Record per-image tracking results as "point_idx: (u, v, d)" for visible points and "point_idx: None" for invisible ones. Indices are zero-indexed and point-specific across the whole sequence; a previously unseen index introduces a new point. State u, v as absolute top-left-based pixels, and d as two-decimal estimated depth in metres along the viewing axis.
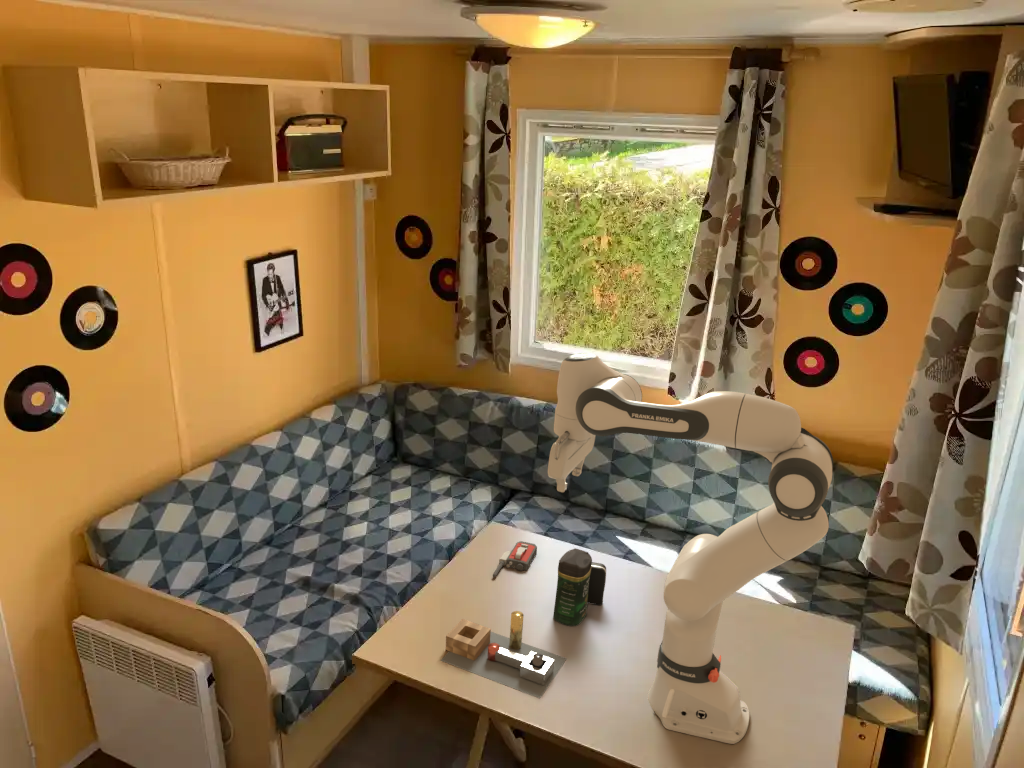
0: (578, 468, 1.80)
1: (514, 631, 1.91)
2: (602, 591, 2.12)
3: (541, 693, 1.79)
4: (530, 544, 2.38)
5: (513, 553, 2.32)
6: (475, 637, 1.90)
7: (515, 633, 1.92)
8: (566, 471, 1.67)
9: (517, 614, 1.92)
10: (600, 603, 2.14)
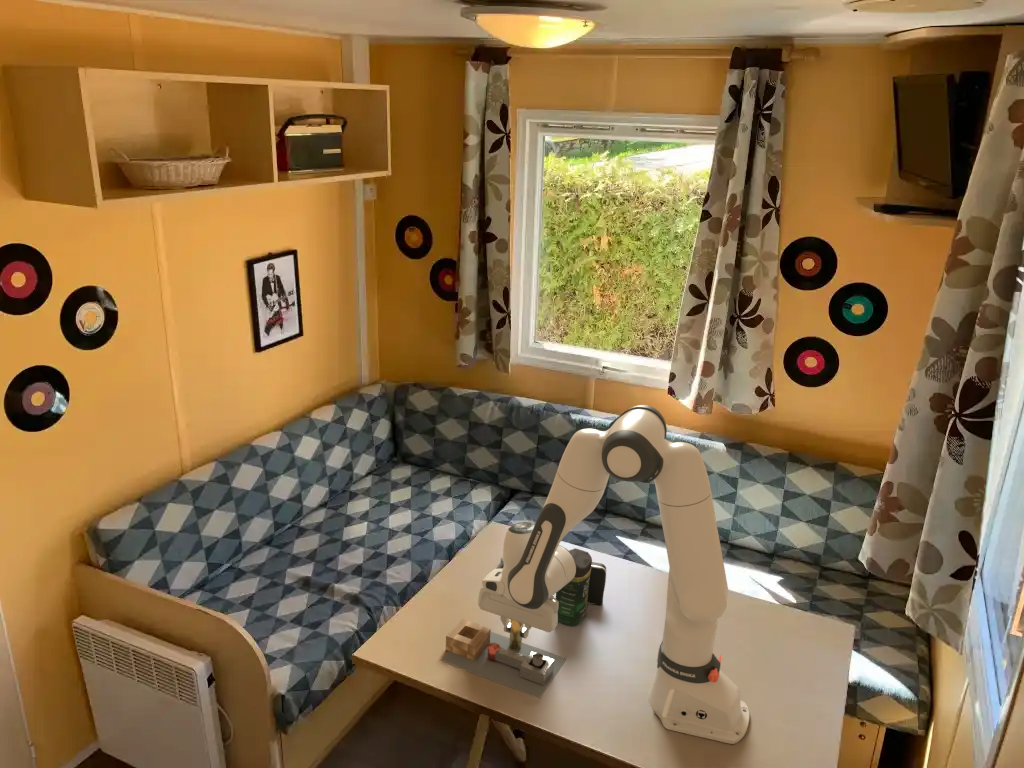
0: (510, 624, 1.94)
1: (514, 631, 1.91)
2: (602, 591, 2.12)
3: (541, 693, 1.79)
4: None
5: None
6: (475, 637, 1.90)
7: (515, 633, 1.92)
8: None
9: None
10: (600, 603, 2.14)
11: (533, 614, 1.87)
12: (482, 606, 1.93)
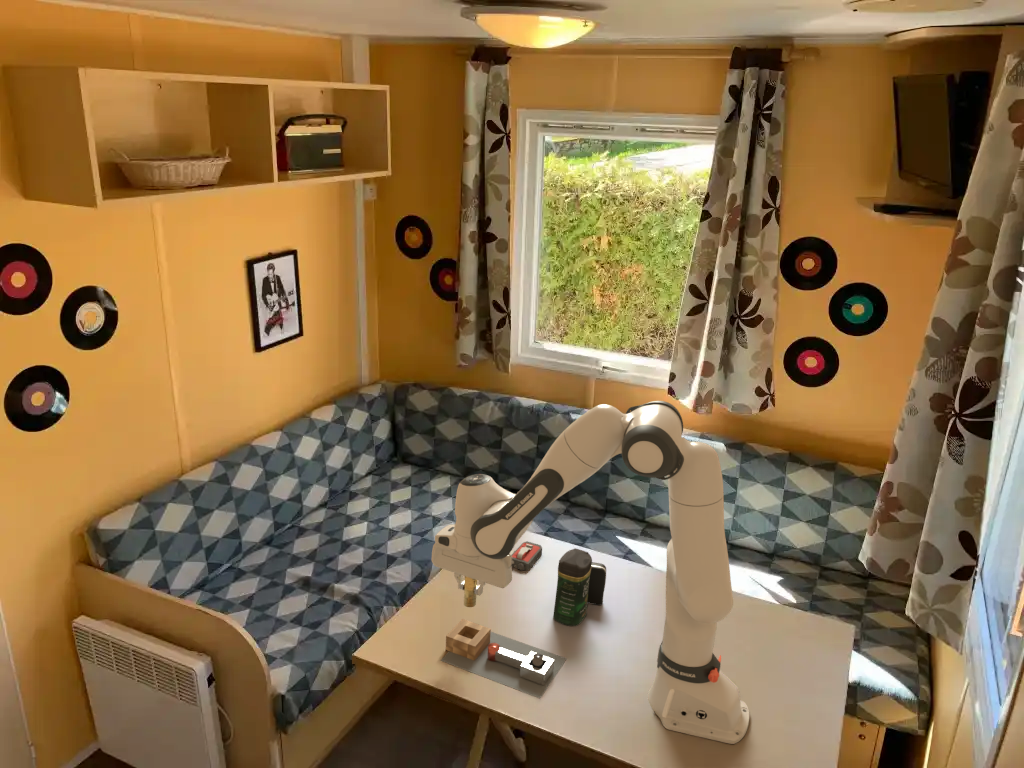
0: (464, 581, 1.89)
1: (468, 588, 1.86)
2: (602, 591, 2.12)
3: (541, 693, 1.79)
4: (535, 545, 2.37)
5: (516, 552, 2.32)
6: (475, 637, 1.90)
7: (469, 590, 1.87)
8: None
9: None
10: (600, 603, 2.14)
11: (486, 569, 1.82)
12: (435, 563, 1.88)
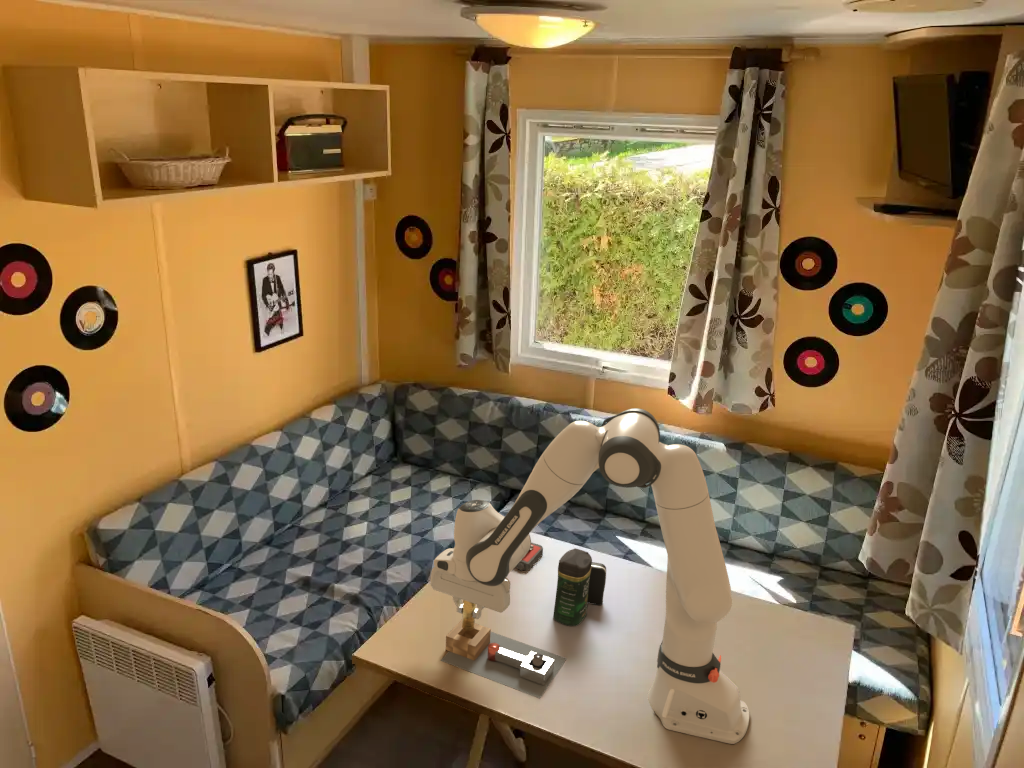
0: (462, 604, 1.91)
1: (466, 612, 1.88)
2: (602, 591, 2.12)
3: (541, 693, 1.79)
4: (536, 545, 2.37)
5: None
6: (475, 637, 1.90)
7: (467, 614, 1.89)
8: None
9: None
10: (600, 603, 2.14)
11: (485, 594, 1.84)
12: (434, 586, 1.90)
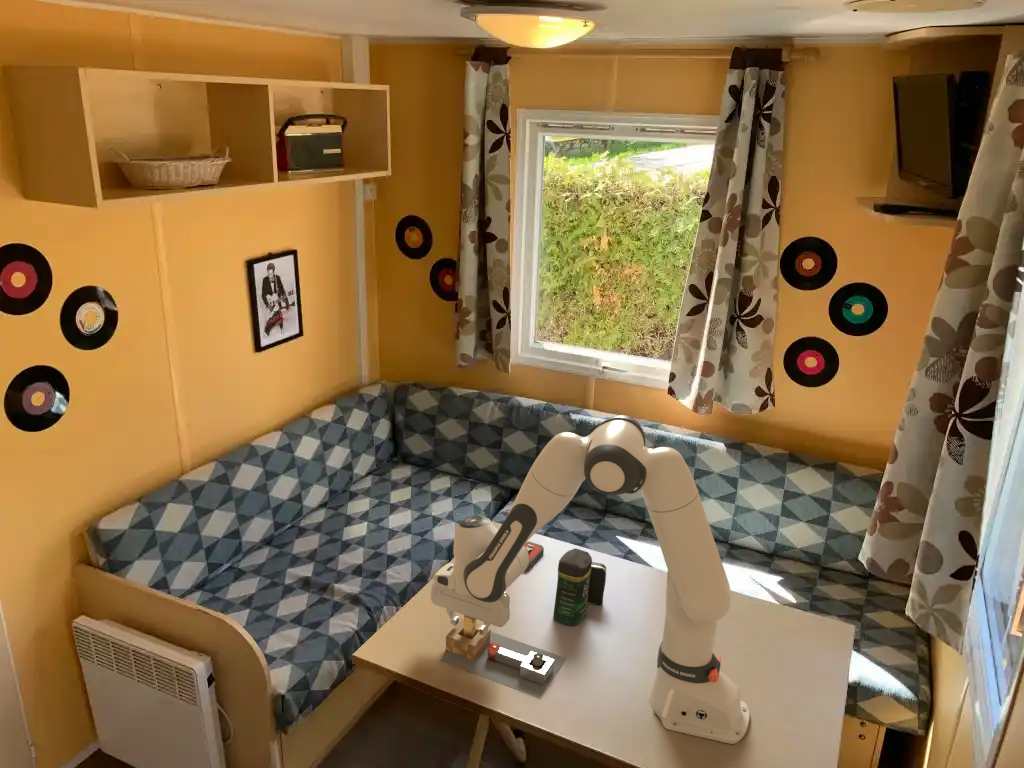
0: (456, 616, 1.93)
1: (467, 632, 1.90)
2: (602, 591, 2.12)
3: (541, 693, 1.79)
4: (537, 545, 2.37)
5: None
6: (475, 637, 1.90)
7: (468, 634, 1.90)
8: None
9: None
10: (600, 603, 2.14)
11: (484, 609, 1.86)
12: (435, 601, 1.92)
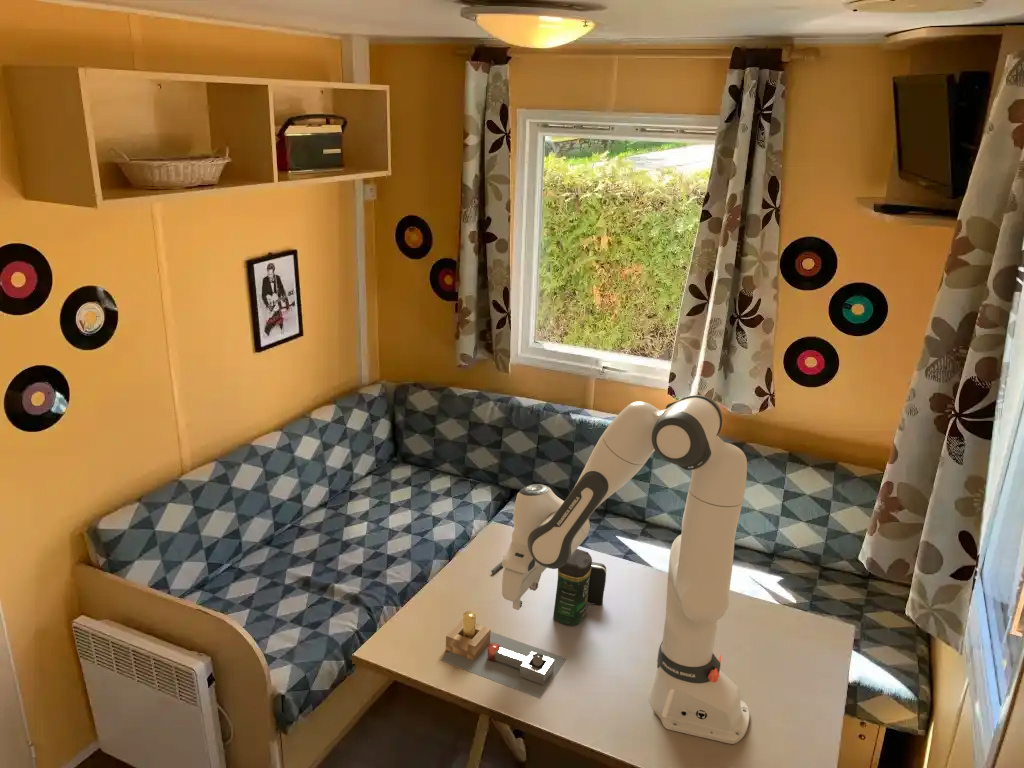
0: None
1: (466, 631, 1.90)
2: (602, 591, 2.12)
3: (541, 693, 1.79)
4: None
5: None
6: (475, 637, 1.90)
7: (467, 633, 1.90)
8: None
9: (469, 614, 1.91)
10: (600, 603, 2.14)
11: None
12: (518, 597, 1.82)
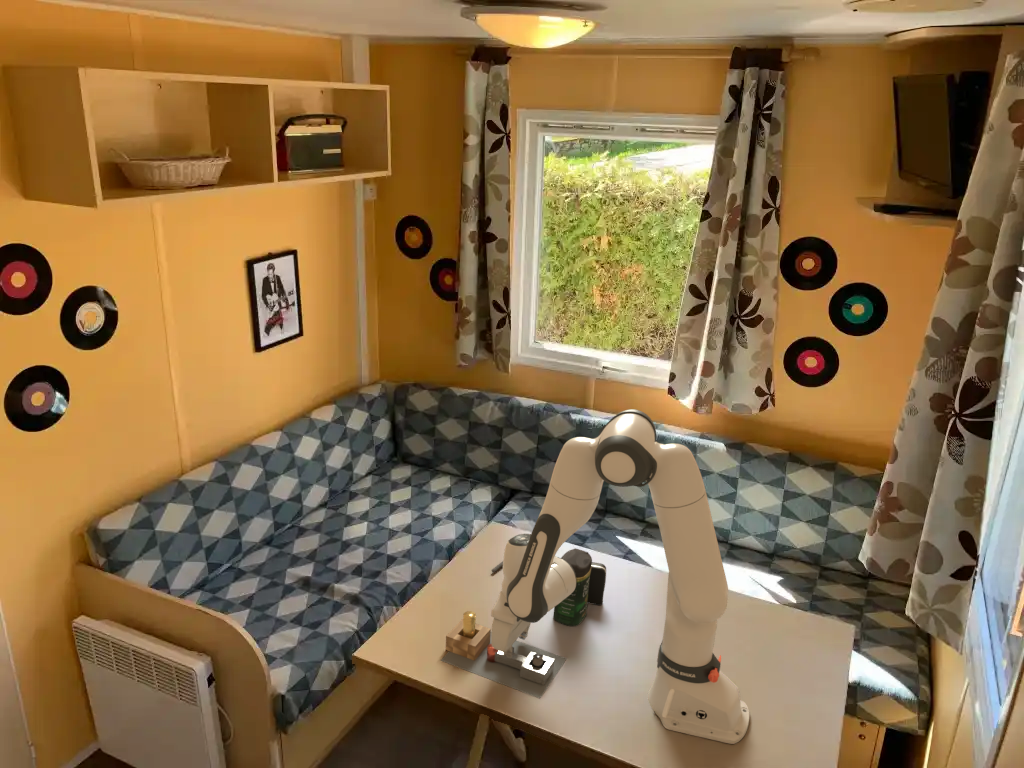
0: None
1: (466, 631, 1.90)
2: (602, 591, 2.12)
3: (541, 693, 1.79)
4: None
5: None
6: (475, 637, 1.90)
7: (467, 633, 1.90)
8: None
9: (469, 614, 1.91)
10: (600, 603, 2.14)
11: None
12: (507, 647, 1.82)
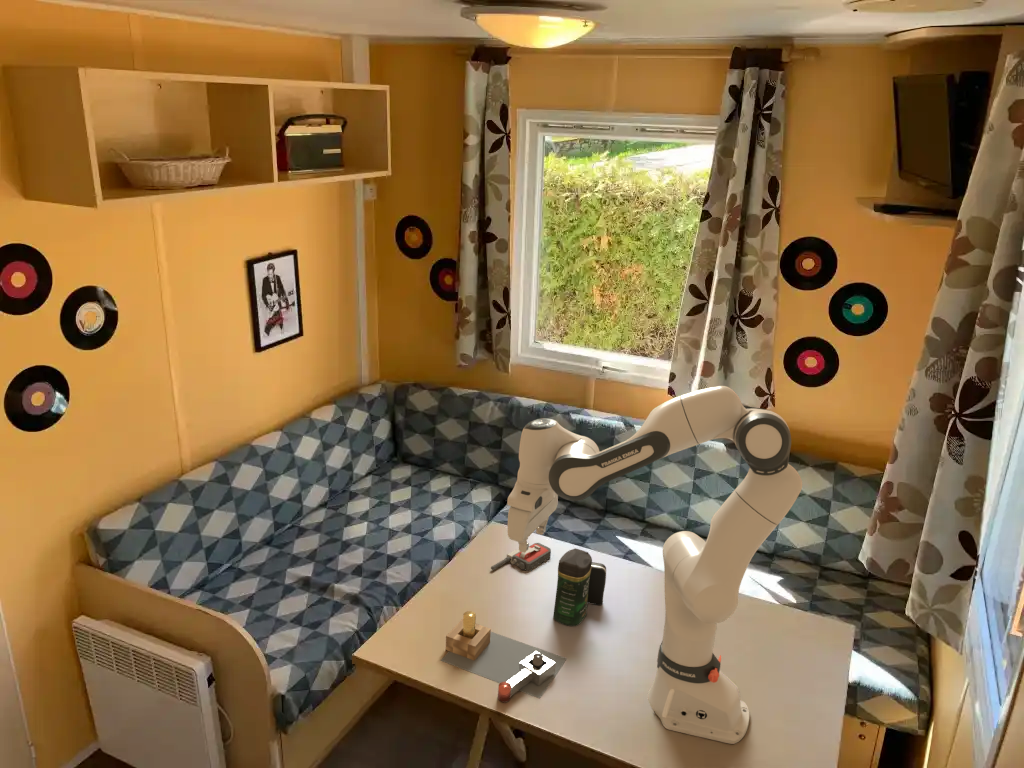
0: None
1: (467, 631, 1.90)
2: (602, 591, 2.12)
3: (541, 693, 1.79)
4: (545, 547, 2.36)
5: None
6: (475, 637, 1.90)
7: (467, 633, 1.90)
8: None
9: (469, 614, 1.91)
10: (600, 603, 2.14)
11: (550, 502, 1.84)
12: (525, 537, 1.73)
